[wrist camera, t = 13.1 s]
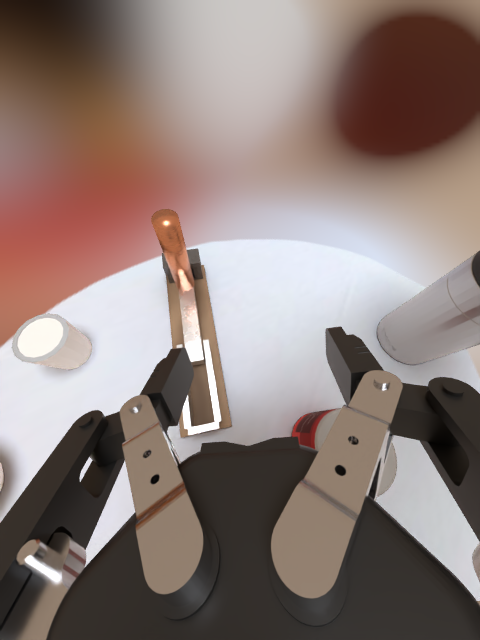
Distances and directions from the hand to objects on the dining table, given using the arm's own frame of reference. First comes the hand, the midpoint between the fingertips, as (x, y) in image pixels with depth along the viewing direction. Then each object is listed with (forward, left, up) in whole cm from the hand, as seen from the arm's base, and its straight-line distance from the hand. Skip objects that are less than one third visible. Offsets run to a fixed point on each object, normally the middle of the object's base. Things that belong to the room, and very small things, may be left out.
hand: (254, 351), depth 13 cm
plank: (+5, -10, -24) cm, 26 cm away
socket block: (+5, -23, -23) cm, 32 cm away
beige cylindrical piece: (+24, -12, -24) cm, 36 cm away
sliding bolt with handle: (+5, -15, -22) cm, 27 cm away
